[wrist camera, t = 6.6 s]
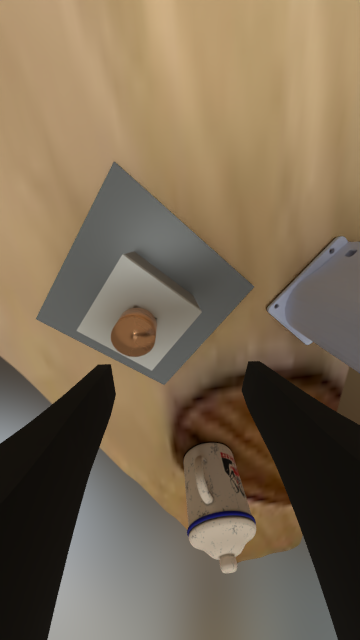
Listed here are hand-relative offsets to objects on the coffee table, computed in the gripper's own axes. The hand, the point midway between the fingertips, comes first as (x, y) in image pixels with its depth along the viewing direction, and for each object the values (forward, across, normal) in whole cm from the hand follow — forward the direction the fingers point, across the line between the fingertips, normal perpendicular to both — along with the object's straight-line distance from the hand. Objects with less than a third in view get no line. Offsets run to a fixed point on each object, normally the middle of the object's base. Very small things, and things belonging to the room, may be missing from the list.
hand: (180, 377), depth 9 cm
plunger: (+9, +3, -1) cm, 9 cm away
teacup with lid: (+11, -6, +26) cm, 29 cm away
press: (+10, +3, -1) cm, 11 cm away
